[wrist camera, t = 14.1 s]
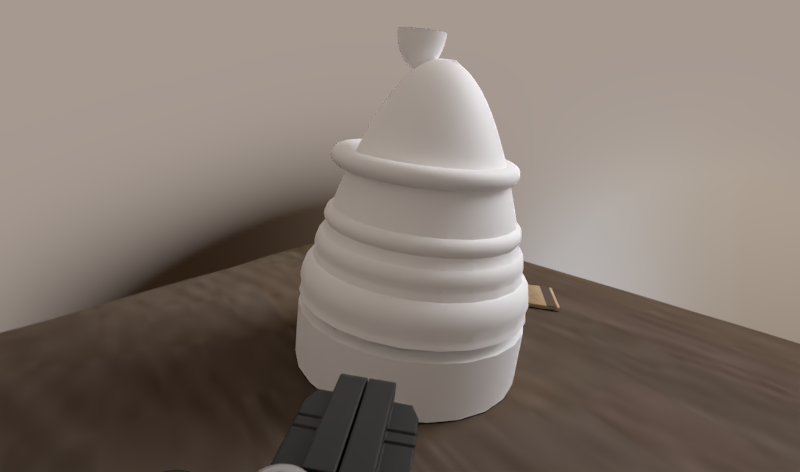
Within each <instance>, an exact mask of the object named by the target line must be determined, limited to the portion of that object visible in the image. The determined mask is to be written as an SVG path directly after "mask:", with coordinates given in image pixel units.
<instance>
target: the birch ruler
mask: <svg viewBox="0 0 800 472" xmlns="http://www.w3.org/2000/svg"><path fill="white" fill-rule="evenodd" d="M528 306H529V307H536V308H542V309H549V310H555V311H559V310H560V307H559V305H558V302H557V300H556V298H555V295H554V293H553V291H552V288H549V287H542V286H534V285H528Z"/></svg>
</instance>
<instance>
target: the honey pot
mask: <svg viewBox="0 0 800 472" xmlns="http://www.w3.org/2000/svg"><path fill="white" fill-rule="evenodd" d="M446 37H447V33H445V32H441V31H436V30H430V29H423V28H413V27H398V44H399V49H400V52H401V55H402V57H403V59H404V60H405V62H406V63H407V64H408V65H409V66H411V67H412V68H414V70H413V71H411V72H410V73H409V74H408V75H407V76H406V77H405V78H404V79H403V80H402V81H401V82H400V83H399V84H398V85H397V86H396V88H395V89H394V90H393V91H392V92H391V94H390V95H389V96H388V98H387V99H386V100H385V102H384V103H383V105H382V106H381V108H380V109H379V111H378V112H377V114H376V115H375V117H374V119H373V120H372V122H371V124H370V125H369V127H368V129H367V130H366V132H365V134H364V136H363V138H362V139H351V140H345V141H341V142H338V143H337V144H336V145H335V146H334V147H333V149H332V151H331V158H332V159H333V161H334V162H335V163H336V164H337V165H338V166H339V167H340V168H342V169H344V170H346V172H345V174H344V176H343V178H342V180H341V183H340V185H339V187H338V190H337V192H336V195H335V197H334V198H332V199H330V200H329V202H328V203H327V205H326V208H325V211H324V216H325V220H324V221H323V222H322V224H321V225H320V226H319V228H318V231H317V233H316V237H315V244H314V245H313V246H312V247H311V249H310V250H309V251H308V252H307V255H306V257H305V259H304V261H303V265H302V268H301V272H300V274H301V280H302V282H301V285H300V288H299V290H300V293H301V294H300V297H299V300H298V316H297V331H296V347H295V351H296V357H297V362H298V366H299V368H300V369H301V371H302V372H303V374H304V375H305V376H306V378H307V379H308V381H309V382H310V383H311V384H312V385H314V386H315V387H316V388H317V389H322V390H327V391H333V390H334V388H335V386H336V384H337V381H338V379H339V377H340V375H341V374H348V375H354V376H359V377H365V378H368V381H369V379H370V378H372V379H377V380H383V381H389V382H395V383H396V391H395V399H394V402H396V403H401V404H407V405H413V408H414V410H415V412H416V414H417V417H418V419H419V421H418V422H423V423H431V422H442V421H452V420H460V419H463V418H466V417H470V416H473V415H476V414H479V413H482V412H485V411H487V410H488V409H490V408H491V407H492V406H494V405H495V404H497V403H498V402H500V401H501V400H503V398H504V397H505V395H506V394H507V392H508V390H509V389H510V387H511V385H512V382H513V377H514V373H515V368H516V363H517V358H518V354H519V349H520V344H521V339H522V335H523V325H524V323H525V313H526V311H527V309H528V283H527V281H526V279H525V277H524V275H523V273H522V271H523V253H522V251H521V249H520V248H519V244H520V242H521V228H520V226H519V225H518V223H517V222H516V216H515V209H514V203H513V197H512V191H511V187H513V186H515V185H516V184H517V183H518V182H519V180H520V170H519V168H518V167H517V166H516V165H515V164H513V163H512V162H510V161H508V160H505V157H504V153H503V149H502V145H501V141H500V137H499V134H498V131H497V128H496V125H495V122H494V118H493V116H492V113H491V111H490V108H489V106H488V103H487V101H486V99H485V97H484V95H483V93H482V91H481V89H480V88H479V86H478V84H477V83H476V81H475V80H474V78H473V77H472V76H471V75H470V73H469V72H468V71H467V70H466V69H464V68H463V67H462V66H461V65H460V64H459V63H458V61H456V60H452V59H438V57H439V56H440V54H441V52H442V50H443V48H444V45H445V41H446Z"/></svg>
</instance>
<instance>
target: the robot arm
mask: <svg viewBox="0 0 800 472" xmlns="http://www.w3.org/2000/svg"><path fill="white" fill-rule="evenodd" d="M395 391H396V383H395V382H389V381H383V380H377V379H372V378H370V379H369V381H368V378H365V377H359V376H354V375H348V374H341V375H340V377H339V379H338V381H337V384H336V386H335V388H334V390H333V391H327V390H322V389H317V390H316V391H315V392H313V393H312V394H311V395H309V396H308V397H307V398H305V399H304V401H303V403H302V405H301V407H300V409H299V411H298V414H297V415H296V417H295V419H294V421H293V423H292V426H290V428H289V430H288V432H287V434H286V436H285V438H284V440H283V442H282V444H281V446H280V448H279V450H278V452H277V454H276V456H275V458H274V459H273V461H272V463H271V465H270V466H267V467H265V468H263V469H261V470H259V471H258V472H411V471H412V464H413V456H414V449H415V442H416V435H417V428H418V421H419V419H418V417H417V414H416V412H415V410H414V408H413V405H407V404H401V403H396V402H394V399H395ZM165 472H189V471H185V470H170V471H165Z"/></svg>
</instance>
